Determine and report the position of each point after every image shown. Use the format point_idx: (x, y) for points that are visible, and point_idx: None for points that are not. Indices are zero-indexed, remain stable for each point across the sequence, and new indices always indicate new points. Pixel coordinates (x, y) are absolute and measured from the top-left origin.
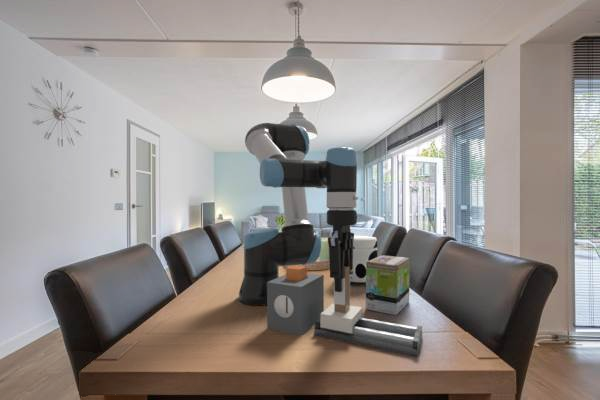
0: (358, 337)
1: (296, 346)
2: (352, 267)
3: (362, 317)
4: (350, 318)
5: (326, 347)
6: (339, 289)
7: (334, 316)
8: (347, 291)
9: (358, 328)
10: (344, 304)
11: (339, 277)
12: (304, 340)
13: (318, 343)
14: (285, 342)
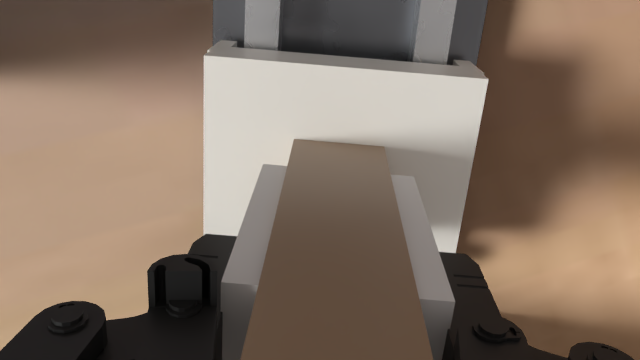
0: (480, 13)
1: (584, 292)
2: (70, 318)
3: (221, 43)
4: (478, 91)
5: (560, 162)
6: (476, 275)
7: (463, 203)
8: (345, 206)
9: (443, 27)
10: (407, 178)
11: (616, 353)
12: (510, 280)
13: (525, 211)
14: (555, 346)
